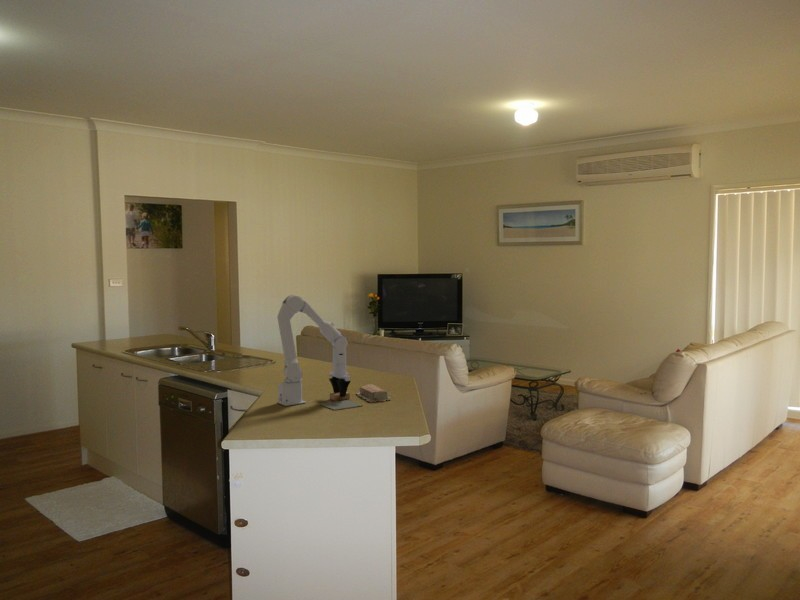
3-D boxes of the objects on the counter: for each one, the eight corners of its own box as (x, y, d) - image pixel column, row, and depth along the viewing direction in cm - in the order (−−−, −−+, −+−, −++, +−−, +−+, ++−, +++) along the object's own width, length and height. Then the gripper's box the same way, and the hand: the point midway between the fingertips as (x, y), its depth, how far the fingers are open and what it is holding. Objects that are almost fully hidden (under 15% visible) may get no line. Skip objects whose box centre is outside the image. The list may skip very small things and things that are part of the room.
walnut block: (335, 401, 270) (334, 394, 270) (329, 399, 274) (329, 393, 274) (349, 399, 274) (349, 392, 274) (344, 397, 278) (344, 391, 278)
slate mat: (334, 410, 253) (334, 409, 253) (319, 404, 263) (319, 404, 263) (362, 406, 261) (362, 405, 261) (347, 400, 271) (347, 399, 271)
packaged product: (392, 389, 271) (369, 392, 267) (392, 401, 272) (369, 403, 268) (376, 382, 288) (355, 384, 284) (376, 393, 288) (355, 395, 284)
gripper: (356, 364, 270) (356, 397, 270) (339, 360, 281) (339, 391, 282) (341, 366, 266) (342, 399, 266) (324, 362, 277) (325, 393, 278)
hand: (339, 395), depth 274 cm, fingers closed on walnut block, 4 cm apart
